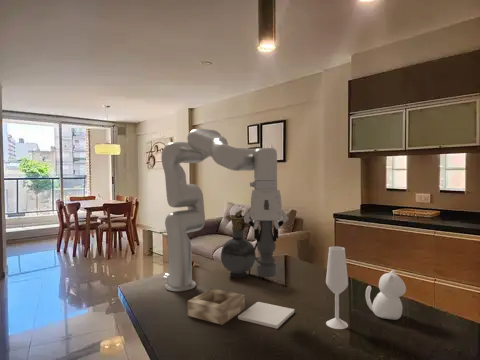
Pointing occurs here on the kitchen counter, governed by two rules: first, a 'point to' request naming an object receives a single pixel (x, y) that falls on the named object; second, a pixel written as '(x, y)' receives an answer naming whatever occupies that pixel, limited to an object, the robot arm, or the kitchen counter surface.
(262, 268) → the candle holder
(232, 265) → the pitcher
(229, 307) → the socket block
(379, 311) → the cat figurine
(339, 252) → the champagne flute
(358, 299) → the kitchen counter surface
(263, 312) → the ceramic tile
